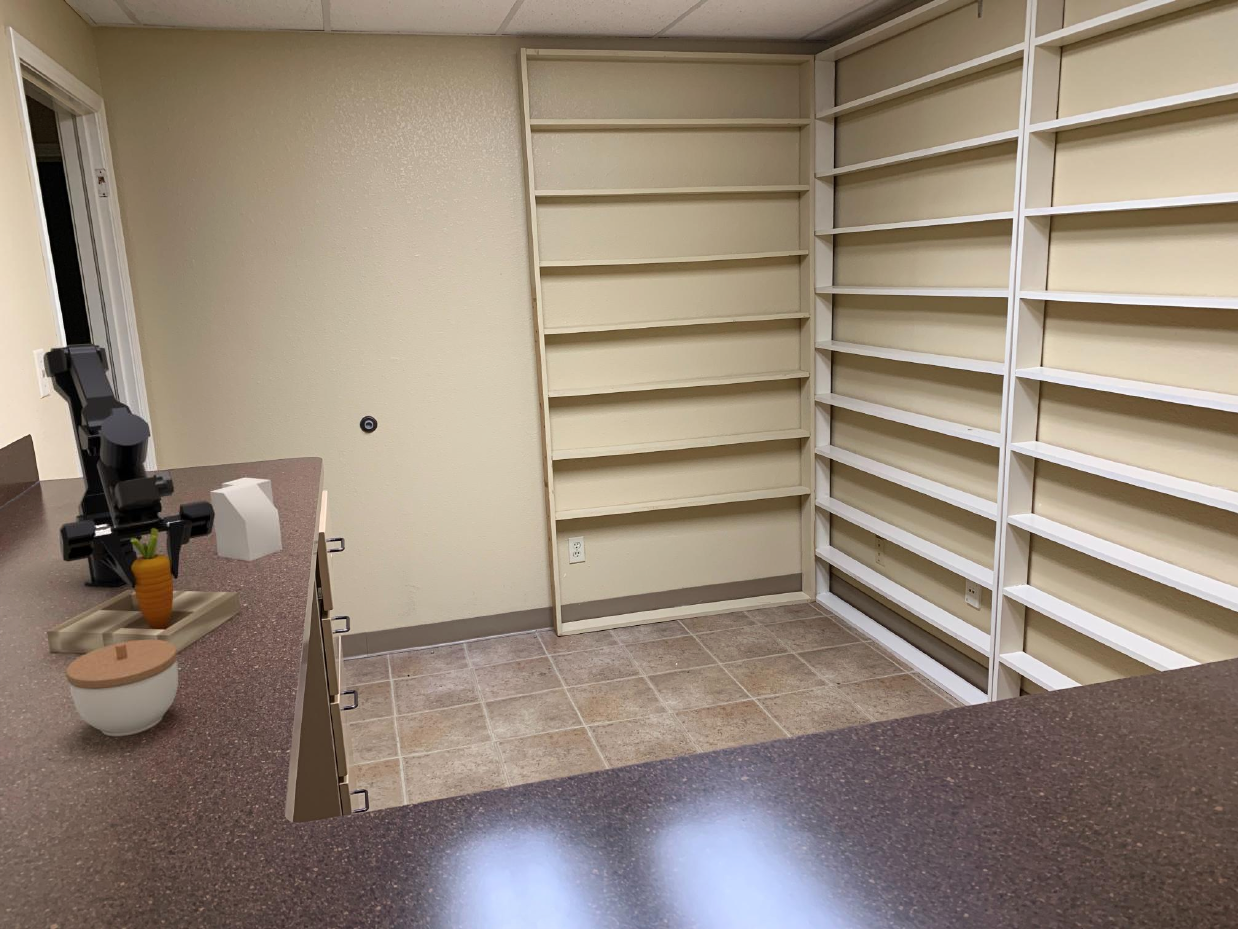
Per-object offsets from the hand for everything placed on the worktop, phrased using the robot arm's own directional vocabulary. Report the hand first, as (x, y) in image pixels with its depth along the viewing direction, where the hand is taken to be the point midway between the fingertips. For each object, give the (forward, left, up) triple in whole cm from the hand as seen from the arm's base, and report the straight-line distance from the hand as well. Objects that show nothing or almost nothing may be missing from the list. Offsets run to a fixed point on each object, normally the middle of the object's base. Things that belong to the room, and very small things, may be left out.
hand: (155, 581), depth 120 cm
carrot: (-1, +1, -8) cm, 8 cm away
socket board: (-5, +4, -9) cm, 11 cm away
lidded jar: (+11, -21, -9) cm, 26 cm away
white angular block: (-12, +42, -9) cm, 44 cm away
